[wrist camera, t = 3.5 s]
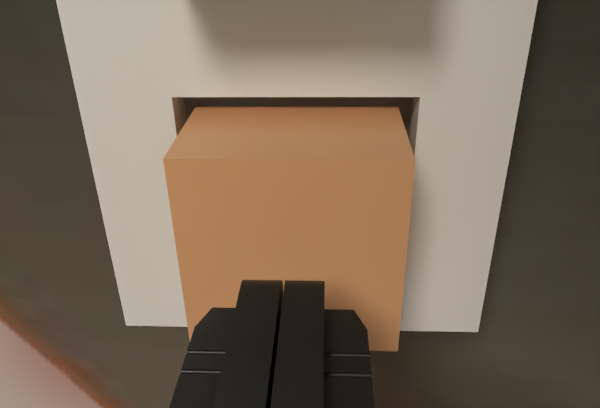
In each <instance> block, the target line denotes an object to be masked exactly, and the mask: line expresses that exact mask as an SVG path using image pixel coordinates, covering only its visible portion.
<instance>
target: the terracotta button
mask: <svg viewBox="0 0 600 408" xmlns="http://www.w3.org/2000/svg"><path fill="white" fill-rule="evenodd" d="M163 162H164V169H165V176H166V183H167V190H168V197H169V203H170V210H171V217H172V224H173V231H174V237H175V244H176V251H177V258H178V265H179V272H180V278H181V285H182V292H183V299H184V306H185V312H186V319H187V326H188V333H189V340H191V337H192V334H193V331H194V327H195V326H196V325H197V324H198V323H199V321H200V320H201V319H202V318H203V317H204V316H205V315H206V314H207V313H208V312H209V311H210V309H211V308H212V307H217V308H236V303H237V299H238V294H239V290H240V286H241V282H242V280H282V281H283V292H284V284H285V280H303V281H325V302H324V309H344V310H354V311H355V312H356V314H357V315H358V317H359V318H360V320H361V321H362V323H363V324H364V325H365V327H366V328H367V331H368V342H369V351H398V344H399V333H400V323H401V312H402V301H403V290H404V279H405V268H406V257H407V246H408V236H409V225H410V214H411V203H412V192H413V181H414V170H415V157H414V154H413V151H412V148H411V145H410V142H409V139H408V135H407V132H406V129H405V126H404V123H403V120H402V117H401V114H400V111H399V107H195V108H194V110H193V112H192V113H191V115H190V116H189V118H188V120H187V121H186V123H185V124H184V126H183V128H182V129H181V131H180V132H179V134H178V136H177V137H176V139H175V141H174V142H173V144H172V145H171V147H170V149H169V150H168V152H167V153H166V155H165V157H164V158H163Z"/></svg>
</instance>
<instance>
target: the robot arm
mask: <svg viewBox="0 0 600 408" xmlns="http://www.w3.org/2000/svg"><path fill="white" fill-rule="evenodd" d="M324 302H325V281H303V280H285V284H284V292H283V281H282V280H242V282H241V286H240V290H239V294H238V299H237V303H236V308H217V307H212V308H211V309H210V311H209V312H208V313H207V314H206V315H205V316H204V317H203V318H202V319H201V320H200V321H199V323H198V324H197V325H196V326H195V327H194V331H193V334H192V337H191V340H190V343H189V347H188V353H187V354H186V356H185V359H184V363H183V366H182V372H181V374H180V376H179V379H178V382H177V385H176V388H175V392H174V395H173V398H172V401H171V404H170V408H374V398H373V387H372V378H371V364H370V357H369V354H370V353H369V342H368V331H367V328H366V327H365V325H364V324H363V323H362V321H361V320H360V318H359V317H358V315H357V314H356V312H355V311H354V310H344V309H324Z"/></svg>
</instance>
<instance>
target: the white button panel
mask: <svg viewBox="0 0 600 408" xmlns="http://www.w3.org/2000/svg"><path fill="white" fill-rule="evenodd" d="M56 2H57V7H58V12H59V16H60V21H61V25H62V30H63V35H64V39H65V44H66V49H67V53H68V58H69V63H70V67H71V72H72V77H73V81H74V86H75V90H76V95H77V100H78V104H79V109H80V114H81V118H82V123H83V128H84V132H85V137H86V142H87V146H88V151H89V156H90V160H91V165H92V169H93V174H94V179H95V183H96V188H97V193H98V197H99V202H100V207H101V211H102V216H103V221H104V225H105V230H106V234H107V239H108V244H109V248H110V253H111V258H112V262H113V267H114V272H115V276H116V281H117V286H118V290H119V295H120V299H121V304H122V309H123V313H124V318H125V323H126V325H127V326H180V327H188V326H187V319H186V312H185V306H184V299H183V292H182V285H181V278H180V272H179V265H178V258H177V251H176V244H175V237H174V231H173V224H172V217H171V210H170V203H169V197H168V190H167V183H166V176H165V169H164V162H163V158H164V157H165V155H166V153H167V152H168V150H169V149H170V147H171V145H172V144H173V142H174V141H175V139H176V137H177V136H178V134H179V132H180V131H181V129H182V128H183V126H184V124H185V123H186V121H187V120H188V118H189V116H190V115H191V113H192V112H193V110H194V108H195V107H399V111H400V114H401V117H402V120H403V123H404V126H405V129H406V132H407V135H408V139H409V142H410V145H411V148H412V151H413V154H414V157H415V170H414V181H413V192H412V203H411V214H410V225H409V236H408V246H407V257H406V268H405V279H404V290H403V301H402V312H401V323H400V331H443V332H478V330H479V324H480V319H481V313H482V307H483V302H484V296H485V291H486V285H487V280H488V274H489V269H490V263H491V258H492V252H493V247H494V241H495V235H496V230H497V224H498V219H499V213H500V208H501V202H502V197H503V191H504V186H505V180H506V175H507V169H508V163H509V158H510V152H511V147H512V141H513V136H514V130H515V125H516V119H517V114H518V108H519V102H520V97H521V91H522V86H523V80H524V75H525V69H526V64H527V58H528V53H529V47H530V42H531V36H532V30H533V25H534V19H535V14H536V8H537V3H538V0H56Z"/></svg>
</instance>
